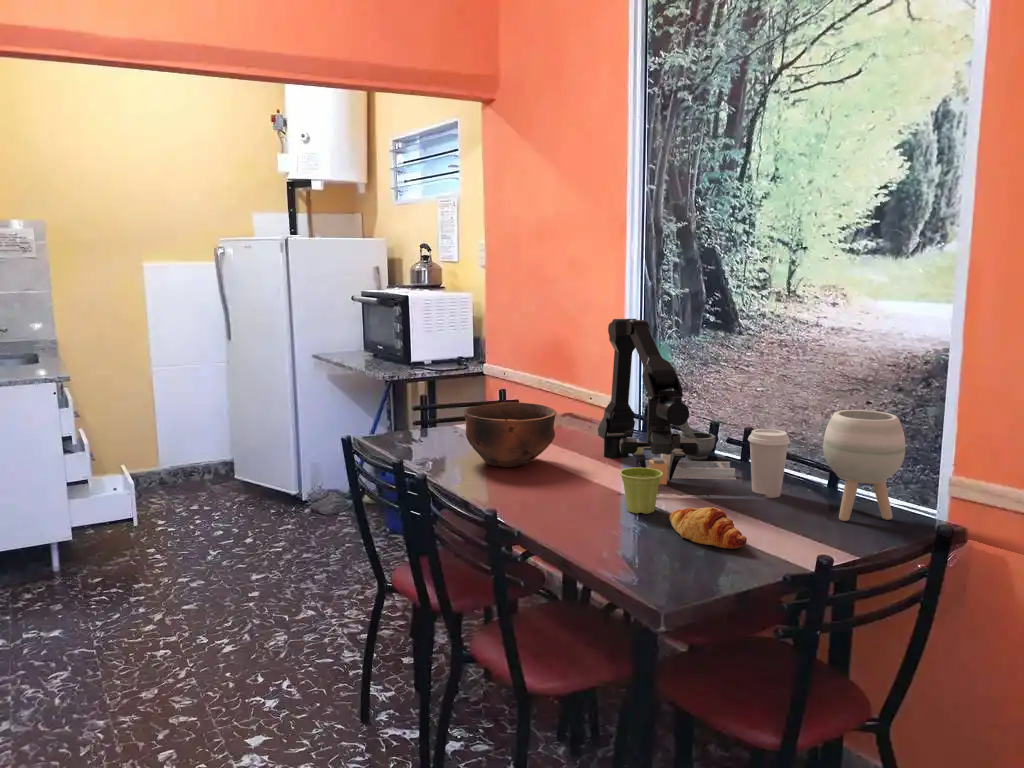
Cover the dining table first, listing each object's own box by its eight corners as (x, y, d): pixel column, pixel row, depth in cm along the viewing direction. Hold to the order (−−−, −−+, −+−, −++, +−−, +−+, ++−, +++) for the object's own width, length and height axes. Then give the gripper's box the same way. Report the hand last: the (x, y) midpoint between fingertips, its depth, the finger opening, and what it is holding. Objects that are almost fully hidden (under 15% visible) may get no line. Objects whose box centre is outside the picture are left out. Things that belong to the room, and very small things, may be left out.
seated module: (662, 473, 208) (662, 448, 207) (660, 469, 212) (661, 445, 211) (677, 474, 208) (678, 448, 207) (675, 470, 212) (676, 445, 211)
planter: (829, 526, 169) (835, 421, 166) (811, 503, 185) (817, 407, 182) (911, 529, 167) (919, 423, 164) (886, 506, 183) (893, 409, 180)
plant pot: (610, 509, 181) (610, 471, 180) (638, 501, 187) (639, 465, 186) (642, 519, 174) (643, 480, 173) (670, 511, 180) (671, 473, 179)
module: (650, 487, 199) (650, 461, 198) (648, 483, 203) (649, 457, 202) (666, 487, 199) (667, 461, 198) (664, 483, 203) (665, 457, 202)
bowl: (498, 480, 205) (498, 421, 203) (447, 461, 225) (446, 407, 223) (574, 466, 220) (574, 411, 217) (519, 449, 239) (519, 398, 237)
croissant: (660, 541, 171) (646, 511, 168) (692, 513, 175) (679, 483, 172) (734, 572, 153) (721, 539, 150) (768, 539, 157) (755, 507, 154)
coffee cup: (792, 492, 194) (795, 431, 192) (780, 502, 187) (784, 438, 184) (752, 486, 200) (755, 426, 197) (739, 495, 192) (742, 433, 190)
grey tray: (647, 480, 205) (648, 469, 204) (643, 468, 217) (643, 458, 216) (736, 482, 203) (736, 471, 203) (727, 470, 215) (727, 459, 215)
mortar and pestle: (700, 454, 233) (702, 413, 231) (721, 461, 224) (723, 418, 223) (667, 457, 229) (668, 416, 227) (687, 465, 220) (688, 422, 218)
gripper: (623, 424, 191) (621, 488, 193) (703, 425, 190) (701, 490, 192) (620, 415, 202) (618, 476, 204) (696, 416, 201) (693, 477, 203)
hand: (657, 480), depth 201 cm, fingers open, 6 cm apart
